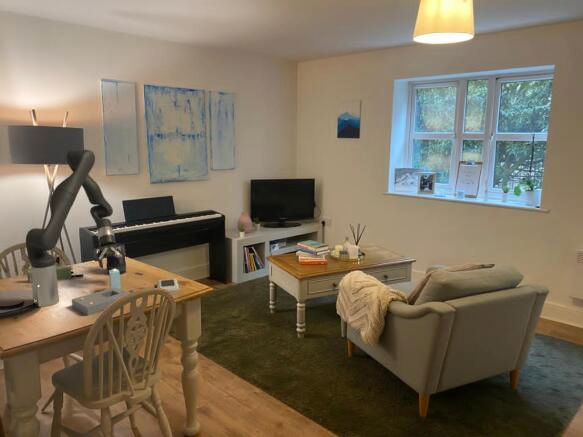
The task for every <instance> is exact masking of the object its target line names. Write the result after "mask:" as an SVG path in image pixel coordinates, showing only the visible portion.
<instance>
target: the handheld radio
mask: <svg viewBox="0 0 583 437" xmlns="http://www.w3.org/2000/svg"><path fill="white" fill-rule="evenodd" d="M73 267H74V265H68V266H67V265H66V266H56V273H57V281H66V280H71V279H72V278H73V279H74V278H82V277H84V273H82V274H81V273H80V274H74V271H73V270H74V268H73ZM26 275H27V282H28V284H32V283H33V276H32V268H31V269H27V270H26Z"/></svg>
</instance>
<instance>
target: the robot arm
mask: <svg viewBox="0 0 583 437" xmlns="http://www.w3.org/2000/svg"><path fill="white" fill-rule="evenodd" d="M65 156H66V159H65V160H66V162H67V165H68V167H69V168H70V169H71V171H72V173H71V174H70V175H69V176H67V177H66V178H65V179H64V180H62V181H61V182H60V183H59V184H58V185H57V186H56V187H55V189H54V191H53V193H52V194H51V196H50V199H49V210H50V217H49V220H48V223H47V225H46V227H45V228H37V227H34V228H32V229H31V228H30V230H28V231H27V233H26V235H25V246H26V252H27V259H28V261H29V263H30V264H31V265H30V266H31V269H32V276H33V283H31V291H32V299H33V298H34V299H35V300H37V302H38V306H39V307H38V306H37V307H38V308H40V307H47V306H48V307H49V306H53V305H55V304H58V303H59V302H60V296H59V286H58V280H57V273H56V267H57V263H56V262H57V261H56V258H55V256H53V255H51V254H50V253H49V251H51V250H54V249H55V247H56V245H57V244H58V242H59V240H60V236H61V234H62V231H63V228H64V225H65V223H66V220H67V217H68V215H69V213H70V211H71V209H72V207H73V205H74V203H75V201H76V198H77V196H78V194H79V192H80V191H81V190H80V189H81V188H83V190H84V192H85V196H86V197H87V199H88V202H89V203H90V204H91V205H93V206H91V208H90V211H89V213H90V215H91V217H92V219H93V220H94V223H95V224H96V230H97V239H98V244H99V248H95V247H94V248H93V250H92V251H93V261H94V262H98V265H99V268H101V269H104V263H103V259H104V258H105V257H108V256H113V255H114V256H116V257H118V258H119V262H120V266H122V264H123V259H122V258H125V259H126V249H125V250H124V246H123V245H121V246H120V247H117V246H116V243H117V242H116V238H115V237H116V236H115V233H114V230H113V225H112V221H111V219H109V218H108V217H111V216H112V215H113V212H114V209H113V207H112V205H111V204H110V203H109V201H108V200H107V199H106V198H105V197H104V195H103V192H102V190H101V186H99V184H98V183H97V181H95V180H94V179H93V178H92V177H91V176H90V172H91V170H92V169H93V167H94V165H95V161H96V155H95V153H94V152H93V151H92V150H90V149H81V148H71V149H69V150H68V151H67V152H66V155H65ZM118 249H119V250H120V251H121V252H122V255H121V254H120V253H119V252H118V251H117V250H118ZM99 253H100V255H99V257H98V254H99Z"/></svg>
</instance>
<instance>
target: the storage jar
mask: <svg viewBox="0 0 583 437" xmlns="http://www.w3.org/2000/svg"><path fill="white" fill-rule="evenodd" d="M121 245H123V246H124V250H125V251H126V247H125V243H122V242H120V243H119V242H116V246H117V247H120V246H121ZM117 251H118V252H119V253H120V254H121V255H122V252H121V251H120V250H119V249H118V250H117ZM105 257H106V256H105ZM122 259H123V264H122V266H120V262H119V258H118V257H116V256H114V255H113V256H108V257H106V263H105V264H106V267H105V268H106V274H107V275H108V276H109V270H112V269H118V270H119V272H120V276H121V275H123V274H126V273H127V262H126V257H125V258H122Z"/></svg>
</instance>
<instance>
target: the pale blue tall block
mask: <svg viewBox="0 0 583 437" xmlns="http://www.w3.org/2000/svg"><path fill="white" fill-rule="evenodd" d="M108 276H109V277H108V278H109V289H111V288H114V287H116V288H118V289H121V288H122V287H121V275H120V272H119V270H118V269H112V270H109V275H108ZM121 290H122V289H121Z"/></svg>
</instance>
